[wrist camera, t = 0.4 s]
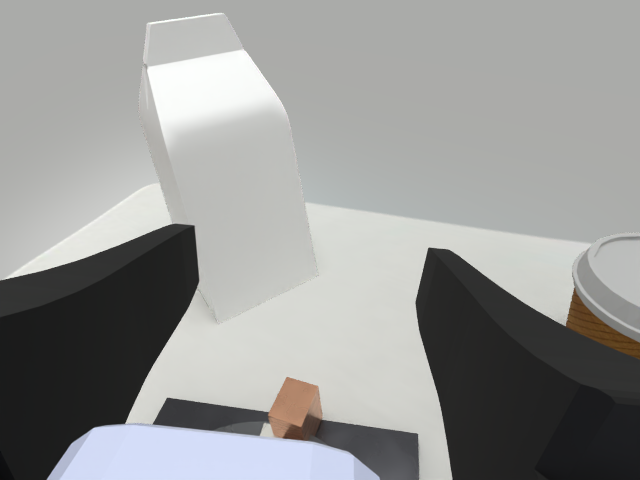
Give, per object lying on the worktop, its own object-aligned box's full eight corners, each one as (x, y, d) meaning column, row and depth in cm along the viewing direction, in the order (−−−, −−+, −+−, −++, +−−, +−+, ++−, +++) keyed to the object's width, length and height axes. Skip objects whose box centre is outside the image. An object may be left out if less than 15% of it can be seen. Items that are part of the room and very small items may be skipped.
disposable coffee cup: (555, 323, 35) (601, 213, 28) (688, 383, 29) (788, 265, 22) (513, 394, 30) (557, 282, 23) (666, 485, 24) (787, 372, 17)
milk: (218, 324, 38) (117, 36, 23) (185, 266, 46) (95, 25, 31) (318, 275, 43) (289, 10, 28) (272, 231, 51) (231, 6, 36)
